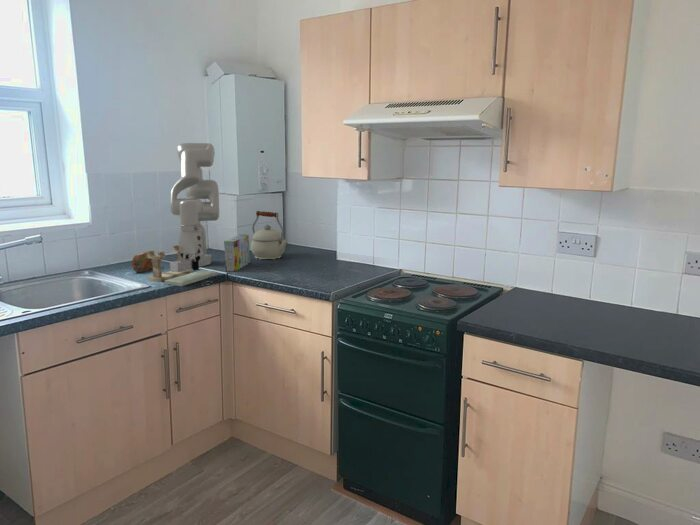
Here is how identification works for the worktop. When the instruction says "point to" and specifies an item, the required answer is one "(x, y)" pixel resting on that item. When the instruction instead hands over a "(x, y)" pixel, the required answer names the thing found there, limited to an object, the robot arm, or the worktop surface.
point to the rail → (188, 263)
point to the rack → (156, 263)
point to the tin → (142, 262)
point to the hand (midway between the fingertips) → (191, 268)
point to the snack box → (237, 252)
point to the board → (190, 278)
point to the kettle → (267, 240)
